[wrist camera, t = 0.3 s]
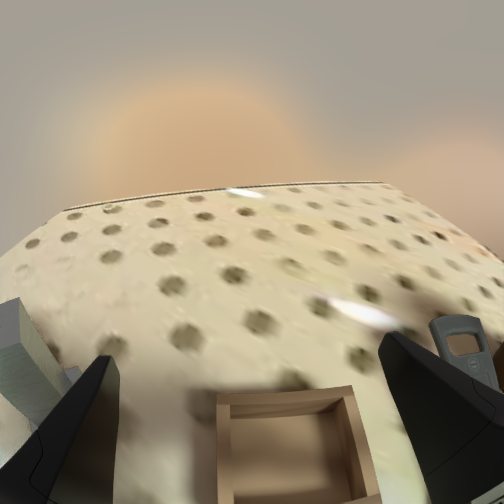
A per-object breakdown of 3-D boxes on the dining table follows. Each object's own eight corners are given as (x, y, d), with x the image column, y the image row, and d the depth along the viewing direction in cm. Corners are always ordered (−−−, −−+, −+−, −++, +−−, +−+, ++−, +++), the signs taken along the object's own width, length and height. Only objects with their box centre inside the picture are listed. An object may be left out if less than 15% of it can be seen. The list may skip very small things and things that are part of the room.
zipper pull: (480, 312, 25) (550, 500, 4) (454, 349, 28) (503, 521, 8) (424, 313, 25) (489, 549, 4) (399, 354, 28) (438, 558, 8)
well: (361, 509, 14) (382, 503, 12) (220, 528, 13) (219, 529, 11) (338, 404, 23) (351, 385, 21) (217, 412, 22) (216, 393, 20)
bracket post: (103, 430, 19) (38, 351, 12) (42, 450, 15) (-41, 379, 9) (81, 372, 23) (32, 281, 17) (28, 391, 20) (-34, 307, 13)
